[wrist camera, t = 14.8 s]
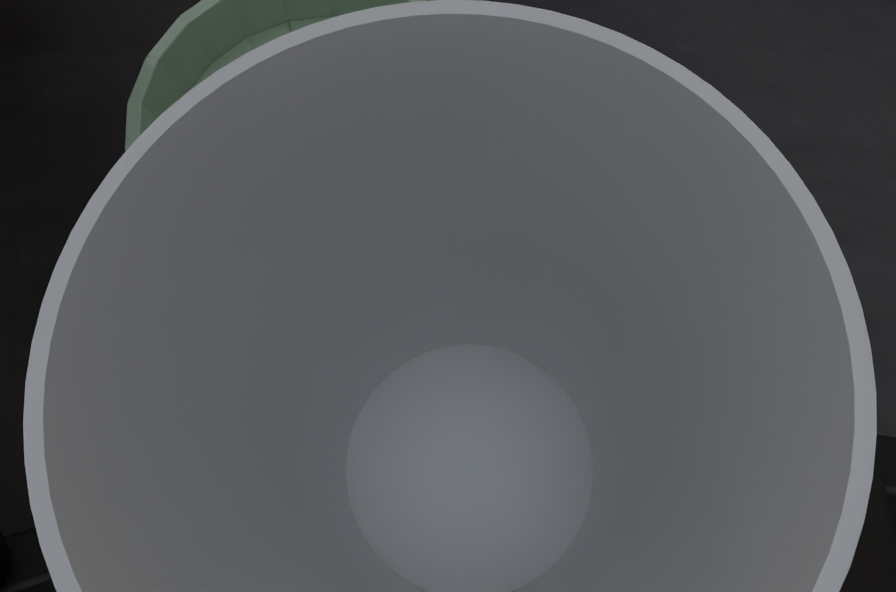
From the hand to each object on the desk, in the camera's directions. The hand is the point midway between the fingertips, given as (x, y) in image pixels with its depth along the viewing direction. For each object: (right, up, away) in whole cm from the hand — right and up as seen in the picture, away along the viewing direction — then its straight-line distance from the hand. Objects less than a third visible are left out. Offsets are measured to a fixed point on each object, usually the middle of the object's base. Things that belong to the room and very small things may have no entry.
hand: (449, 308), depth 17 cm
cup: (+1, -5, +5) cm, 7 cm away
